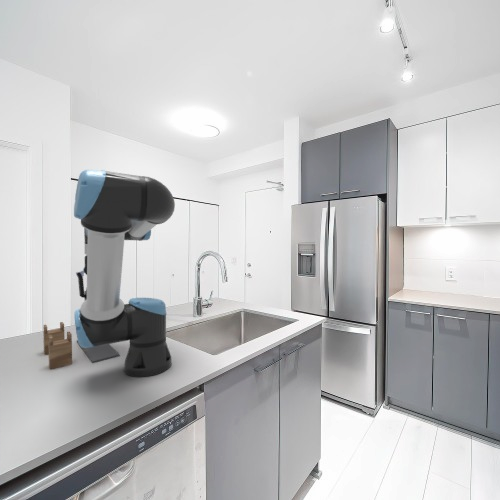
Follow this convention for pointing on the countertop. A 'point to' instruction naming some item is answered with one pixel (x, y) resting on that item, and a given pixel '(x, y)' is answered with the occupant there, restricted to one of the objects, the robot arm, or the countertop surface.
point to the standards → (58, 347)
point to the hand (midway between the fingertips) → (96, 313)
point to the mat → (100, 352)
